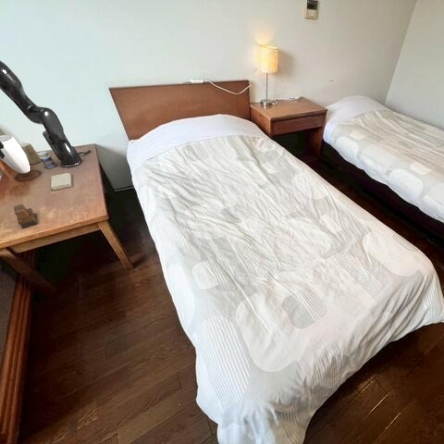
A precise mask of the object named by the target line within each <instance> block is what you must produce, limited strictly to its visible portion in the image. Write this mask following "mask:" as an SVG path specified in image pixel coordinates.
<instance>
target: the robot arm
mask: <svg viewBox="0 0 444 444" xmlns="http://www.w3.org/2000/svg"><path fill="white" fill-rule="evenodd" d="M0 90H1V92H2V93H3V94H4V95H5V96H7V98H9V100H11V101H12V102H13V103H14V105H15V106H16V107H17V108H18V109H19V110H20V112H22V114H23V115H24V116H25V117H26V118H27V119H28V120H29V121H30V122H32V123H33V124H36V125H42V127H43V128H44V130H43V132H42V137H43V138H44V140H45V141H46V143H47V144H48V146H49V147H50V149H51V150H52V152H53V154H54V155H55V157H56V158H57V161H58V162H59V163H60V165H61V167H63V168H73V167H75V166H78V165H80V164H81V162H82V158H81V156H82V155H81V154H83V155H87V154H89V153H90V152H91V150H90V149H88V150H87V151H86V152H85V151H79V152H78V151H77V150H76V148H75V146H73V145H72V144H71V142H70V141H69V139H68V137H67V135H66V133H65V129H64V126H63V125H62V122H61V121H60V118H59V117H58V115H57V114H56V112H55V111H54V110H53V109H51V108H50V107H46V106H39V105H37V104H36V103H35V102H34V101H33V100H32V99H31V98H30V97H29V96H28V95H27V94H26V92H25V89H24V86H23V83H22V81H21V80H20V78H19V76H17V74H15V72H14V71H13V70H12V69H11V68H10V67H9V66H8V65H7V64H6V63H5V62H3V61H2V60H0ZM3 148H4V145H3V144H2V142H1V141H0V157H1V158H0V160H1V159H4V157H5V155H4V153H3V152H2V151H1V149H3Z"/></svg>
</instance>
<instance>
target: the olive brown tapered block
mask: <svg viewBox="0 0 444 444" xmlns="http://www.w3.org/2000/svg"><path fill="white" fill-rule="evenodd" d="M18 144H19V143H18ZM19 145H20V146H21V148H22V150H23V151H24V153H25V154H26V157H27V159H28V161H29V165H30V164H31V165H36V164H38V163H40V162H42V161H41V159H40V156H39V155H38V153H37V151H36V149H35V148H34V146H33V144H32V143H31V142H22V143H20V144H19Z"/></svg>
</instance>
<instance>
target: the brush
mask: <svg viewBox="0 0 444 444" xmlns="http://www.w3.org/2000/svg"><path fill="white" fill-rule="evenodd" d="M13 214H14V215H15V216H16V219H17V223H18V225H19V226H22V227H23V228H27V227H30V226H34V225H37V224H38V222H37V219H36V218H37V217H36V213H34V211H33V209H32V208H31V207H29V208H27V207H26V206H25V205H24V204H23V203H20V204H17V205H13Z"/></svg>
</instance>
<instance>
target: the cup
mask: <svg viewBox="0 0 444 444" xmlns="http://www.w3.org/2000/svg"><path fill="white" fill-rule="evenodd" d="M0 141H1V142H2V144H3V145H4V148H3V149H1V151H2V152H3V153H4V155H5V157H4V159H1V157H0V160H1V161H2V162H4V163H5V164H6V165H7V166H8V167H9V168H11V169H13V170H14V171H15V172H17V173H19V174H27V173H29V172H31V165H30V164H29V161H28V159H27V157H26V154H25V153H24V151H23V150H22V148H21V146H20V145H19V143H18V141H17V140H16V138H14V136H13V135H10V134H9V135H8V134H7V135H0Z"/></svg>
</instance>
